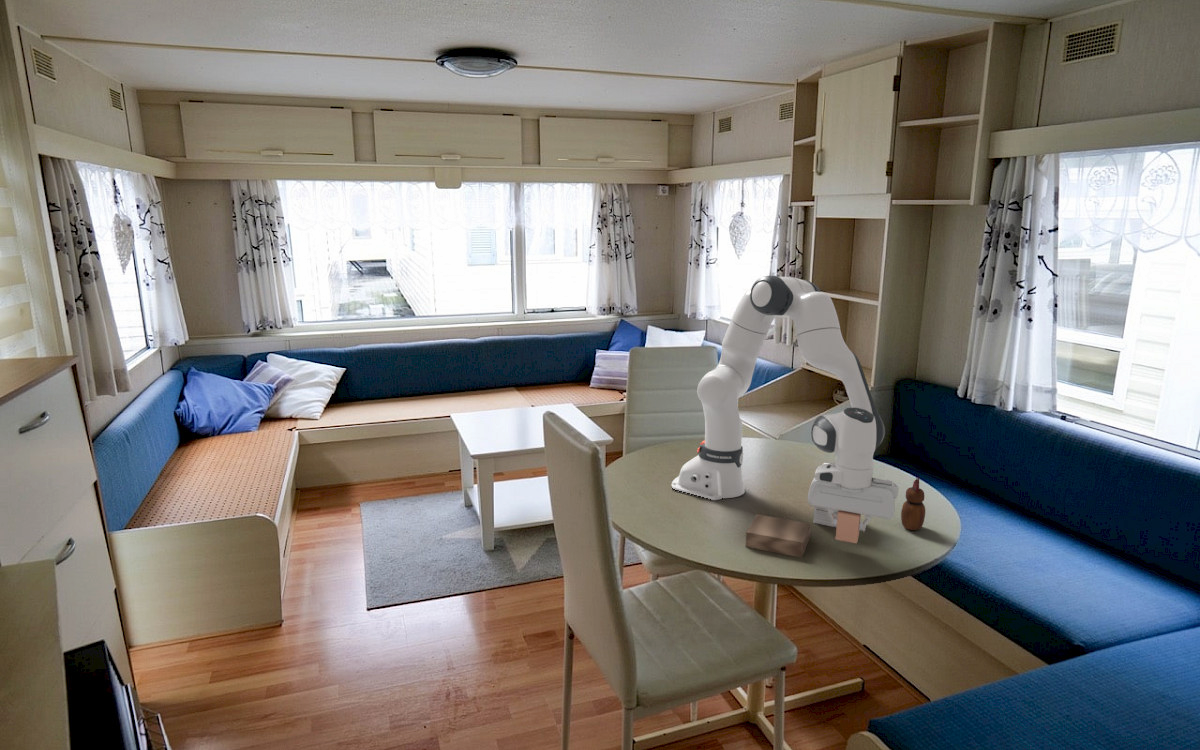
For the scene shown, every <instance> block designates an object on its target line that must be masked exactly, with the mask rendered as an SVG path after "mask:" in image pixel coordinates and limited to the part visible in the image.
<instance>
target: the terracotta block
mask: <svg viewBox="0 0 1200 750" xmlns="http://www.w3.org/2000/svg"><path fill="white" fill-rule="evenodd" d="M861 517H862V514H857V513H851V512H846V511H840V510H839V511H838V517H837V527H835V528H836V529H835V540H837V541H841V542H846V543H853V544H858V540H859V538H860V537H859V536H860V530H859V523H860V522H861Z"/></svg>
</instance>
